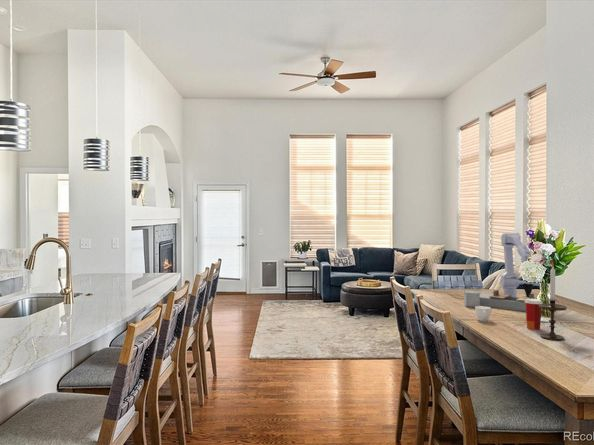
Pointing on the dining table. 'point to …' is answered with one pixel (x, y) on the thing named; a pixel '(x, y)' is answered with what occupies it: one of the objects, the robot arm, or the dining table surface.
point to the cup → (483, 313)
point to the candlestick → (552, 309)
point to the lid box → (502, 302)
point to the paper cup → (533, 313)
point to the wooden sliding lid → (499, 295)
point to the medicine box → (472, 299)
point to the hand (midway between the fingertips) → (528, 297)
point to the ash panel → (526, 298)
